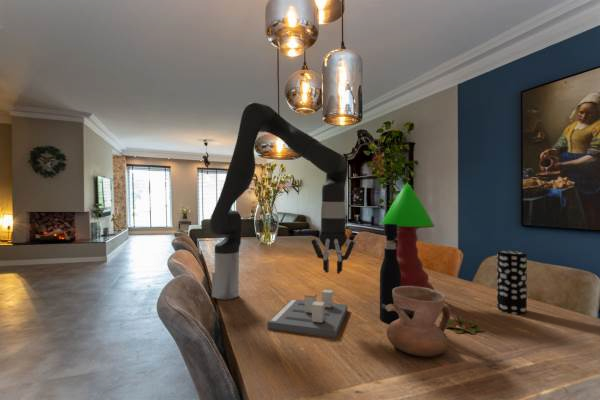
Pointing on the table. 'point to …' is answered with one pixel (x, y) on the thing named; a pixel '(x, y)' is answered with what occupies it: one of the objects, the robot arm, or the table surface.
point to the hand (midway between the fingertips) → (332, 272)
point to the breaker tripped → (310, 301)
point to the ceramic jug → (418, 321)
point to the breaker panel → (308, 319)
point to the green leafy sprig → (467, 325)
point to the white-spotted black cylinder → (512, 282)
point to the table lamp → (409, 236)
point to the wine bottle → (389, 275)
